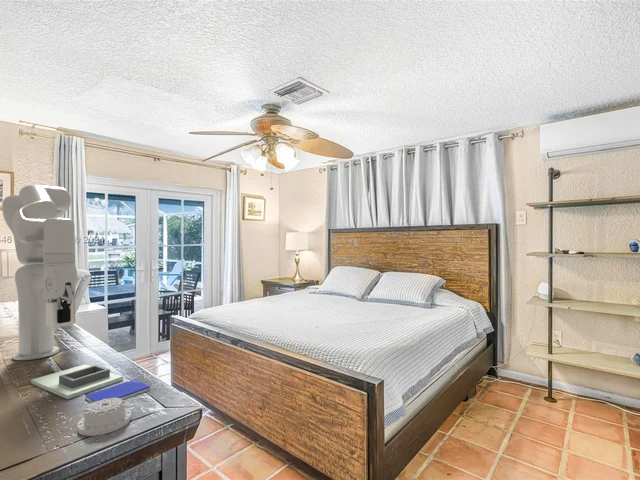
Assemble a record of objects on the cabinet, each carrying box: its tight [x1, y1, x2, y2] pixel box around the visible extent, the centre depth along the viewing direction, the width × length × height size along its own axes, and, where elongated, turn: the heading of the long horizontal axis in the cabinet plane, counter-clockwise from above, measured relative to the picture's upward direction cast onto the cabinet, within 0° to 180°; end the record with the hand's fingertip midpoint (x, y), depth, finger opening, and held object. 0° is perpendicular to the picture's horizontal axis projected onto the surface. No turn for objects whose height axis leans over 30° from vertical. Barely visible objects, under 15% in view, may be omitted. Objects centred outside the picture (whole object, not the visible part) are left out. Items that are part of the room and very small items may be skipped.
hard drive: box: [84, 378, 151, 404], centre depth 90 cm, size 2×8×12 cm
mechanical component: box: [76, 397, 132, 437], centre depth 76 cm, size 10×4×10 cm
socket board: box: [30, 364, 124, 400], centre depth 98 cm, size 20×14×3 cm
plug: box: [46, 299, 76, 329], centre depth 103 cm, size 4×6×7 cm, turn 150°
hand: (60, 321), depth 103 cm, fingers closed on plug, 4 cm apart
